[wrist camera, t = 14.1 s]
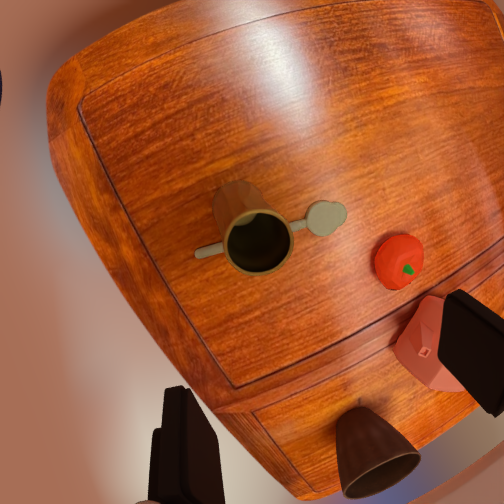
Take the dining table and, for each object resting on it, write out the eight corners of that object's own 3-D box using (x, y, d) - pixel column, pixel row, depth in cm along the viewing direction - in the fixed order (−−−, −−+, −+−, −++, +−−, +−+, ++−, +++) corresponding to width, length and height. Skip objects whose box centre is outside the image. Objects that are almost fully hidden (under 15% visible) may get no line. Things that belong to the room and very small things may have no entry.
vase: (271, 220, 37) (309, 265, 24) (222, 239, 37) (234, 293, 24) (254, 172, 35) (286, 190, 21) (204, 191, 35) (204, 220, 21)
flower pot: (303, 439, 53) (326, 503, 38) (345, 389, 49) (382, 456, 34) (358, 441, 57) (384, 494, 42) (398, 395, 53) (435, 449, 38)
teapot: (362, 342, 46) (406, 401, 33) (404, 274, 43) (464, 320, 30) (436, 362, 52) (474, 404, 38) (469, 309, 49) (516, 346, 35)
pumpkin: (418, 248, 42) (444, 263, 36) (384, 288, 43) (407, 308, 37) (394, 217, 39) (421, 230, 33) (357, 261, 41) (380, 280, 35)
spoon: (200, 269, 38) (200, 273, 37) (189, 236, 36) (188, 239, 35) (347, 227, 39) (351, 229, 38) (342, 194, 37) (346, 196, 36)
